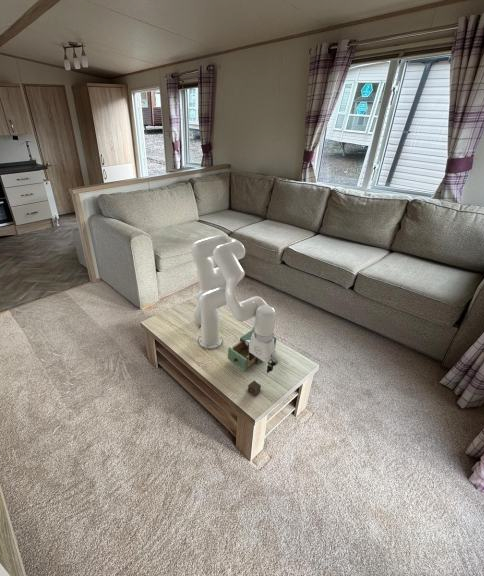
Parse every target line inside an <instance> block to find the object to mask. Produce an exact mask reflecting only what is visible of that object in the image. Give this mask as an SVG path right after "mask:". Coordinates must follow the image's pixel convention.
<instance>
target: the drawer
mask: <svg viewBox="0 0 484 576" xmlns="http://www.w3.org/2000/svg"><path fill="white" fill-rule="evenodd" d="M246 346H247V345H246V343H245V342H244V341H241V342H240V341H239V342H238V343H236V344H234V345H233V346H232V347H231V346H229V347H228V348H227V359H228V360H229V361H230V362H232V363H233V364H234V365H236V366H237V367H238V368H239V369H241V370H243V371H244V372H245V371H247V368H248V367H250V366H251V365H253V364H254V363H256V362H255V361H256V360H257V357H256V356H255V358H254V359H252V360H251V361H250V360H249V352H248V351H249V350H248V349H247V347H246Z"/></svg>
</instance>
